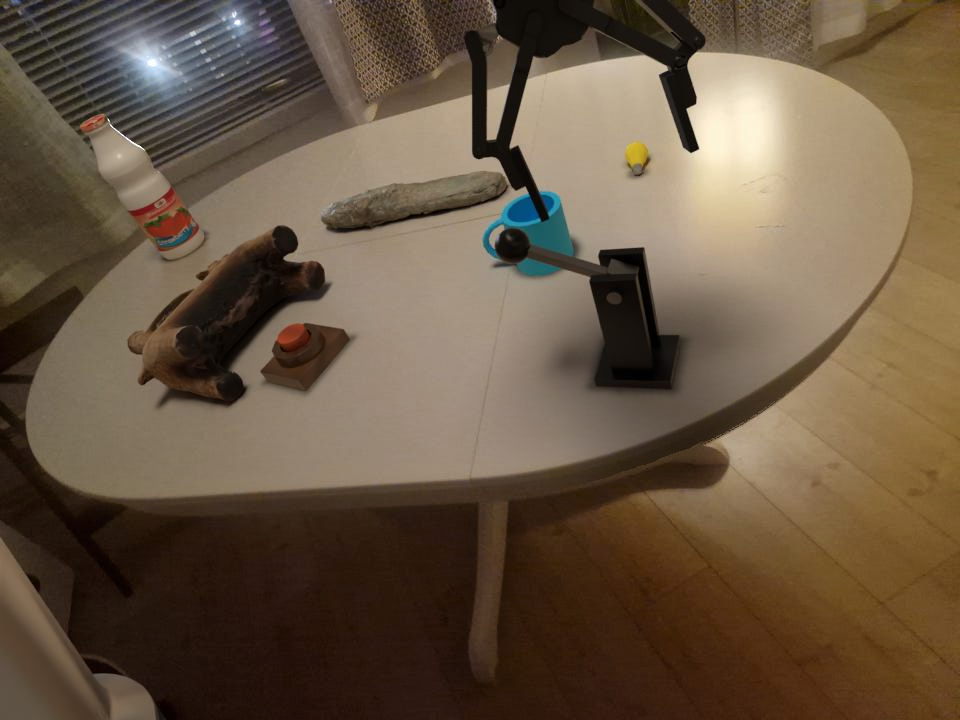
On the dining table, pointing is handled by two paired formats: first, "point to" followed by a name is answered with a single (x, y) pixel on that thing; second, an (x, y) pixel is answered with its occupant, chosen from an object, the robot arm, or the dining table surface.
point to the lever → (551, 256)
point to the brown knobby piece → (221, 314)
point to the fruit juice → (143, 190)
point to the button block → (305, 358)
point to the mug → (535, 230)
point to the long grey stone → (413, 199)
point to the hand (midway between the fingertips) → (616, 183)
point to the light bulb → (636, 156)
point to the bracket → (631, 327)
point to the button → (293, 337)
